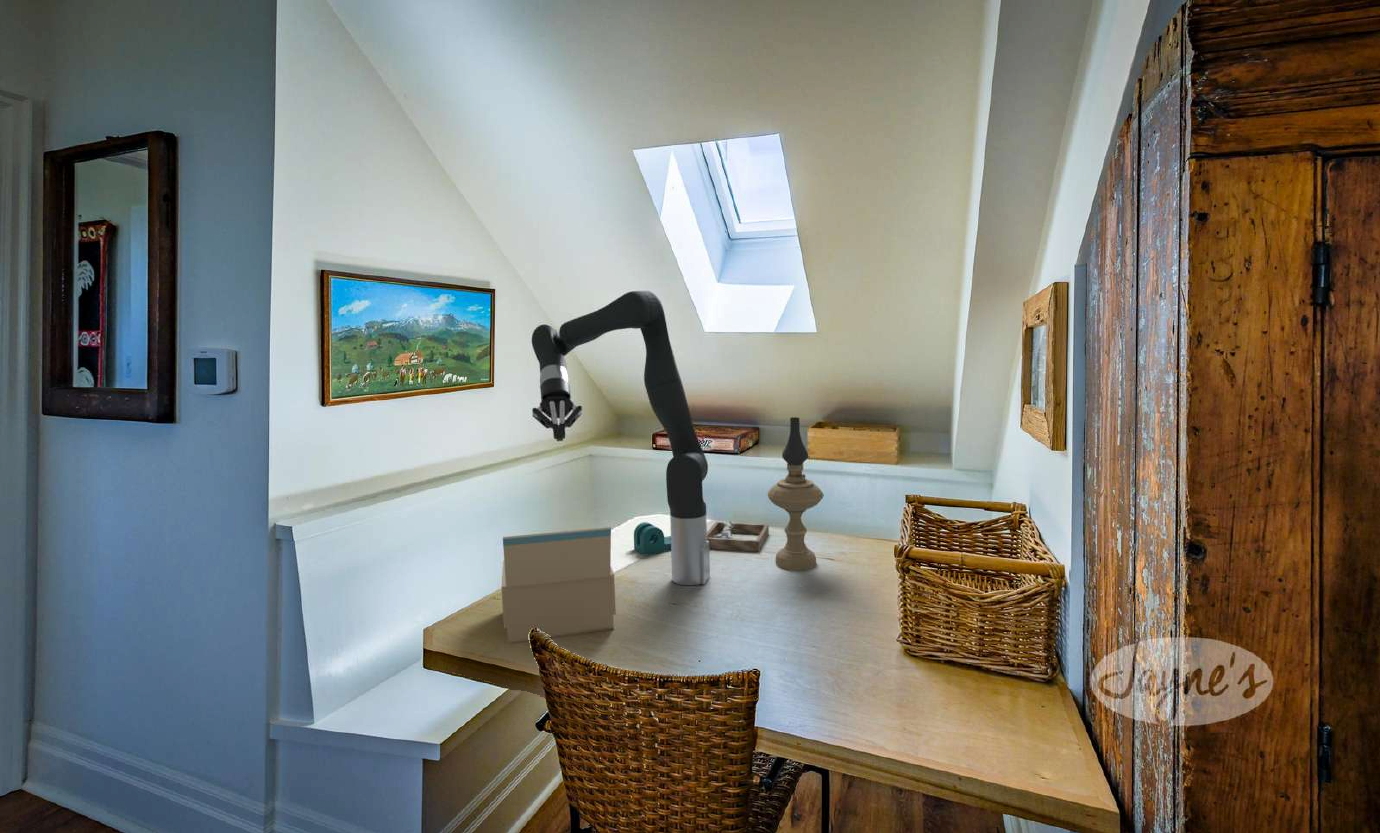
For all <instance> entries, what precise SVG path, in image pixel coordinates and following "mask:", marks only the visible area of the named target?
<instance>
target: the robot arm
mask: <svg viewBox="0 0 1380 833" xmlns="http://www.w3.org/2000/svg"><path fill="white" fill-rule="evenodd" d="M667 325H668V324H667V320H666V315H665V310H664V305H663V304H662V300H661V299H660V297H659V296H658V295H657V294H656V293H655V292H653V291H651V290H634V291H629V292H626V293H623V295H621V296H619V297H618V298H616V299H615V300H613V301H611V302H610V303H609V304H606V305H605V306H603V307H602V308H599V309H597V310H594V311H593V312H589V313H587V314H585V315H582V316H578V317H575V318H573V319H570V320H568V321H565V322H564V323H562V324H561V325H560V327H559V331H558V330H557V329H555V328H554V327H552V326H551V325H548V324H540V325H538V326H536V328H535V329H534V330H533V332H532V336H531V344H532V349H533V351H534V354H535V356H536V360H537V361H538V362H539V375H540V376H539V389H540V390H539V391H540V399H541V401H540V403H539V406H538V407H533V408H531V410H532V417H533V418H534V419H535V420H537V422H538V423H540V424H541V425H542V426H543V427H544V428H546V429H552V432H553V438H554V440H556V442H563V441H564V439H565V438H566V428H571V427H572V426H573V425H574V424H575V422H576V421H578V419H579V418H580V417H581V415H583V414H582V413H583V406H582V405H578V406H576V405H575V403H574V401H573V400H572V396H571V388H570V378H569V375H568V370H567V362H566V358H565V356H567V355H569V353H570V352H571V351H573V350H574V349H575V348H576V347H578V346H581V345H585V344H587V343H590V342H592V341H594V340H595V341H596V340H597V339H598V338H600V337H602V336H603V335H605V334H606V333H610V332H613V331H618V330H626V329H627V330H628V329H635V330H636V329H637V330H638V329H640V331H641V334H642V338H643V341H644V345H645V353H646V354H645V364H644V372H643V377H644V378H643V380H644V386H645V391H646V394H647V397H648V401H649V404H650V407H651V409H652V411H653V413H654V415H655V416H656V418H657V419H658V422H659V423H660V424H661V426H662V427H663V429H664V431H665V433H666V435H667V437H668V441H669V444H670V448H671V452H672V458H671V459H670V460H669V461H668V464H667V466H666V472H665V476H666V477H665V479H666V480H665V481H666V482H665V483H666V498H667V504H668V508H669V512H670V513H669V514H670V516H669V518H670V536H671V550H670V552H671V553H670V554H671V556H670V557H671V580H672V582H673V583H675V584H676V585H682V586H695V585H705V584H706V583H707V581H708V580H709V579H710V577H711V569H710V567H711V565H710V563H711V562H710V548H709V541H707V532H708V530H707V529H708V528H707V522H708V521H707V504H706V502H705V501H704V496H703V494H704V493H703V481H704V480H705V478H706V477H707V474H708V471H709V464H708V461H707V457H706V455H705V453H704V450H703V447H702V445H701V443H700V441H699V440H700V439H699V438H698V436H697V433H696V430H695V427H694V424H693V420H692V419H693V418H692V415H691V410H690V408H689V404H688V400H687V396H686V392H685V388H684V386H683V381H682V378H681V376H680V372H679V369H678V366H677V363H676V359H675V355H674V352H673V351H674V350H673V348H672V345H671V341H670V336H669V331H668V326H667ZM566 417H567V418H566ZM565 418H566V419H565ZM558 419H559V422H558Z"/></svg>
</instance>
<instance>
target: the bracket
mask: <svg viewBox="0 0 1380 833" xmlns="http://www.w3.org/2000/svg"><path fill="white" fill-rule="evenodd" d="M633 548H634V549H635V551H636V552H637V553H639V552H640V553H639V554H640V555H642V554H643V555H642V556H648V555H647V554H649V555H654V554H659V553H665V552H669V551H670V552H671V535H670V536H665V533H664V532H663V530H662V529H661V528H659V527H658V526H656V525H654V524H651V523H650V522H647V521H645V522H640V523H639V524H638V525H637V526H636V527H635V529H634V532H633ZM658 552H659V553H658ZM653 553H654V554H653Z"/></svg>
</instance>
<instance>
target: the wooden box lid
mask: <svg viewBox="0 0 1380 833" xmlns="http://www.w3.org/2000/svg"><path fill="white" fill-rule="evenodd" d="M611 538H612V527H611V526H609V527H598V528H587V529H577V530H576V529H575V530H566V531H565V530H564V531H555V532H554V531H553V532H544V533H543V532H542V533H534V534H533V533H532V534H521V535H512V536H510V535H509V536H503V537H502V544H503V545H502V546H503V557H504V558H503V559H504V560H503V561H504V562H505V576H506V588H507V587H516V586H525V585H534V584H543V583H552V582H561V581H570V580H579V579H588V578H597V577H606V576H610V566H611V562H612V560H611V559H612V558H611V549H612V548H611V546H612V545H611V544H612V539H611Z"/></svg>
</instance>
